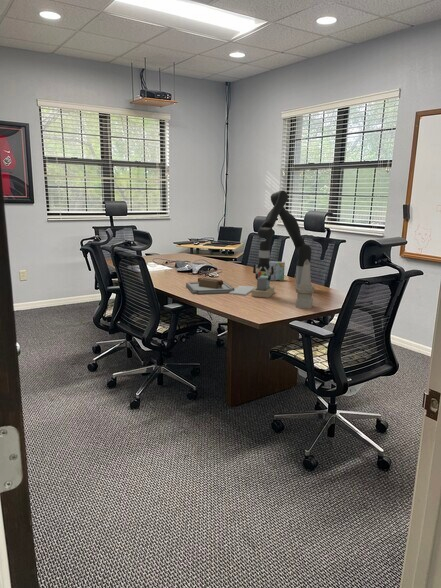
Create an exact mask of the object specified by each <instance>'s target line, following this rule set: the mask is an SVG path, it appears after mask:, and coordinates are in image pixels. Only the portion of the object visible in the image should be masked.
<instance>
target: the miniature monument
mask: <svg viewBox="0 0 441 588" xmlns="http://www.w3.org/2000/svg"><path fill="white" fill-rule="evenodd" d="M314 292H315V286H313V284H312V280H311V261H310V262H309V261H308V259H307V260H306V261H305V262H304V266H303V272H302V277H301V282H300V285H298V286H297V288H295V293H296V294H297V295H296V296H297V298H296V300H295V308H296V309H297V308H299V309H310V310H311V309H312V307H313V303H314V299H313V294H314Z"/></svg>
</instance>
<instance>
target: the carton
mask: <svg viewBox="0 0 441 588" xmlns="http://www.w3.org/2000/svg"><path fill="white" fill-rule="evenodd" d="M254 287H255V288H254V289H253V290H252V291H251V292H250V293H251V294H250V295H251V297H257V298H259V297H260V298H268V299H269V298H270V297H271V296H272V295H274V293H275V290H276V289H275V285H270V287H269V288H268V289H267V290H266V291H258V290H257V286H254Z"/></svg>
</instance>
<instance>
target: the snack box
mask: <svg viewBox="0 0 441 588" xmlns="http://www.w3.org/2000/svg"><path fill="white" fill-rule="evenodd" d="M257 262H259V260H257ZM269 265H270V266H274V274H273V275H271V280H270V281H276V280H280V281H281V282H282V281H283V282H284V281H285V266H286V264H285V261H271V260H270V262H269ZM258 269H259V268H258V267H257V270H258ZM269 271H270V273H271V269H270V268H269ZM260 276H269V275H268V273H267V272H264V271H260V272H259V273H258V278H259V277H260ZM280 281H279V282H280Z"/></svg>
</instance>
